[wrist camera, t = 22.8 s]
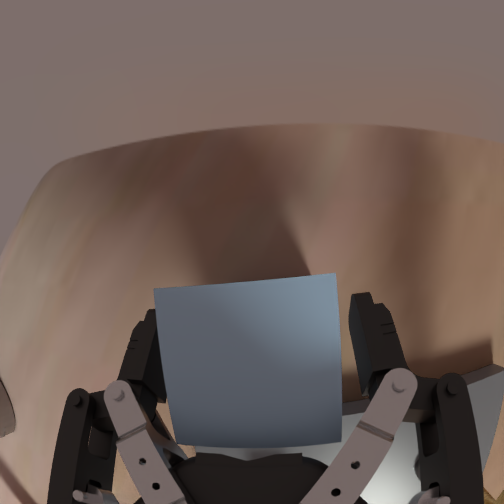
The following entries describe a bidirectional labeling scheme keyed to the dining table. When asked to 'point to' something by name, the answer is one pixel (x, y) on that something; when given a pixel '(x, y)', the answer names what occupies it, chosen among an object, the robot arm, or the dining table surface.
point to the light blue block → (253, 362)
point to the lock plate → (398, 441)
